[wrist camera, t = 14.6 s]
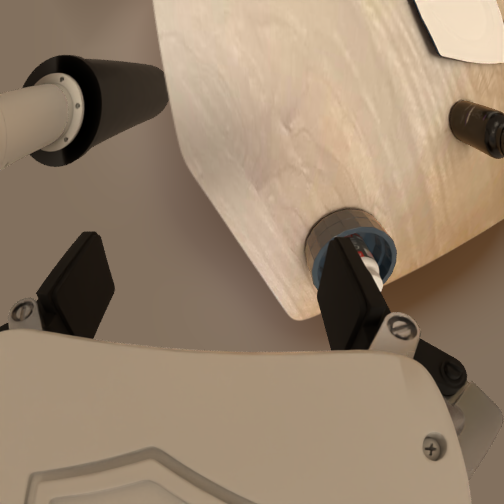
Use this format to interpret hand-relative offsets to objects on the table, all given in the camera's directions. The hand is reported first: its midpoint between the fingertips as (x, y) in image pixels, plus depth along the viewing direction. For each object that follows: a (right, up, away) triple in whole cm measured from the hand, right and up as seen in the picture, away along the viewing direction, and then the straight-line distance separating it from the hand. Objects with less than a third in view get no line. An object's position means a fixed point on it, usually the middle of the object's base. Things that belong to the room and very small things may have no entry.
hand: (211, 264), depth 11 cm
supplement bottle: (+34, +21, +19) cm, 44 cm away
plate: (+32, +37, +8) cm, 49 cm away
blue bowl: (+16, +2, +31) cm, 35 cm away
